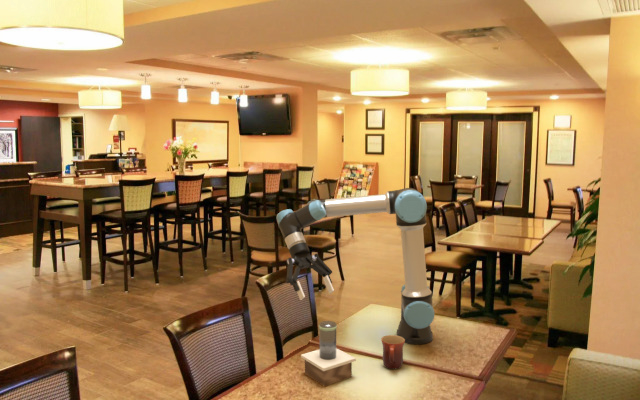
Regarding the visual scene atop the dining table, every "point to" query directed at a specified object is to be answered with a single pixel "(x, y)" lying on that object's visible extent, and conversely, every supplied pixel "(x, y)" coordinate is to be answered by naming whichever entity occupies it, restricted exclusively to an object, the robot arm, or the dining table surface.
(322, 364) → the pedestal
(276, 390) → the dining table surface
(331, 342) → the grey can
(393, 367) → the mug
